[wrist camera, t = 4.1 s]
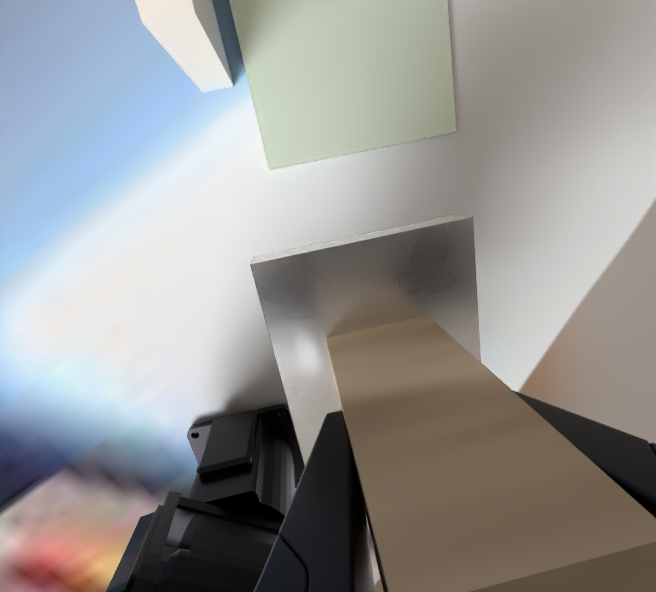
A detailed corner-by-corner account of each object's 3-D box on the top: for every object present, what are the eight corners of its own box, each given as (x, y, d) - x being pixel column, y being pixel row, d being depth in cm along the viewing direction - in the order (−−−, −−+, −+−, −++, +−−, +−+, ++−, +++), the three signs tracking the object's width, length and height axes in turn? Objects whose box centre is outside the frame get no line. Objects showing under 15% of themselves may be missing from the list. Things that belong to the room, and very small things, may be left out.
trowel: (470, 432, 12) (717, 761, 5) (311, 472, 12) (343, 874, 5) (455, 214, 10) (886, 273, 3) (253, 257, 10) (152, 447, 2)
